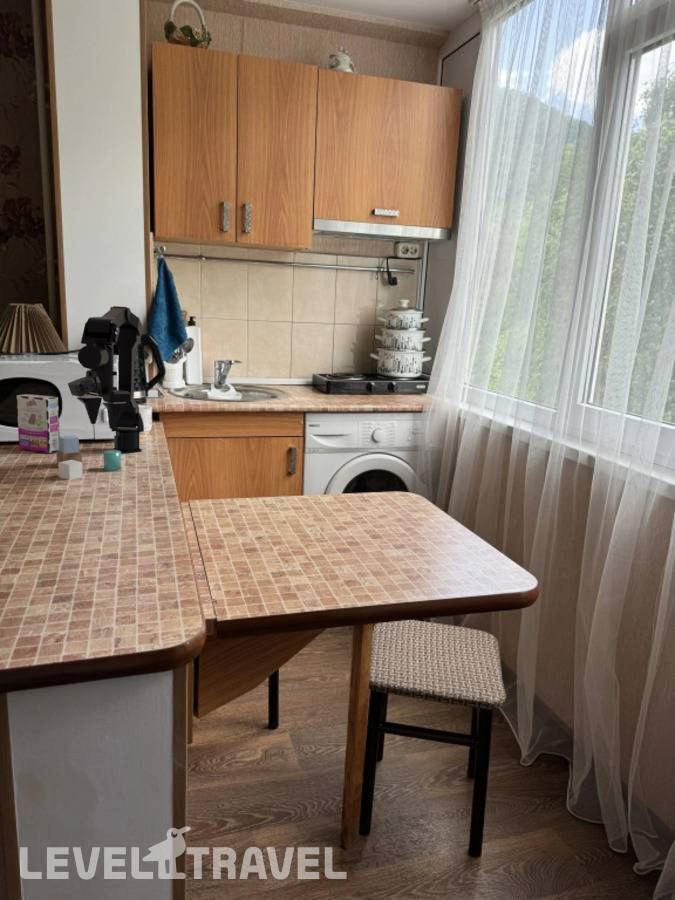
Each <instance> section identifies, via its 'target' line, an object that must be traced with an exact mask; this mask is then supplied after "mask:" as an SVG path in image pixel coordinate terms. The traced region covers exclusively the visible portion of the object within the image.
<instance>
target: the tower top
mask: <svg viewBox="0 0 675 900" xmlns="http://www.w3.org/2000/svg"><path fill="white" fill-rule="evenodd" d="M58 438H59V451H60V452H62V453H64V454H65V453H75V452H79V451H80V442H79V437H78V436H76V435H73V434H72V435H69V434H68V435H60V436H58Z"/></svg>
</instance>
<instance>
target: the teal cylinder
mask: <svg viewBox="0 0 675 900" xmlns="http://www.w3.org/2000/svg"><path fill="white" fill-rule="evenodd" d="M121 454H122V453H121V451H118V450H114V449H109V450H103V471H104V472H109V473H112V472H113V473H114V471H115V472H119V470H120V471H121V470H122V455H121Z"/></svg>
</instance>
